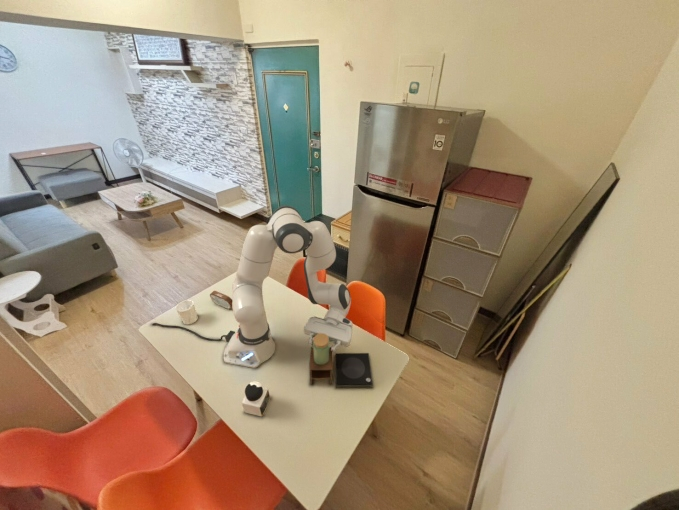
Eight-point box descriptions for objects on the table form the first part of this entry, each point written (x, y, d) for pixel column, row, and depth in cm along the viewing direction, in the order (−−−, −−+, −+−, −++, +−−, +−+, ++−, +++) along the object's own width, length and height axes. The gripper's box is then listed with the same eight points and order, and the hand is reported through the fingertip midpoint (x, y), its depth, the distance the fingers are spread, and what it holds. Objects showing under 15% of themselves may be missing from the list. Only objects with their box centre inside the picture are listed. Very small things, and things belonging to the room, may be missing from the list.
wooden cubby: (310, 384, 108) (309, 369, 102) (311, 362, 117) (311, 347, 111) (332, 384, 109) (332, 368, 103) (332, 362, 117) (332, 347, 111)
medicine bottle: (262, 417, 98) (257, 400, 91) (244, 412, 99) (238, 395, 92) (270, 398, 103) (266, 380, 97) (253, 394, 104) (248, 376, 98)
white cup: (202, 318, 136) (197, 303, 130) (187, 327, 130) (181, 313, 125) (193, 311, 139) (187, 297, 134) (178, 321, 134) (172, 306, 128)
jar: (313, 364, 104) (312, 346, 97) (313, 350, 109) (313, 332, 103) (329, 364, 104) (329, 346, 98) (329, 350, 109) (329, 332, 103)
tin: (236, 308, 142) (233, 296, 137) (231, 312, 140) (228, 300, 135) (215, 299, 147) (212, 288, 142) (211, 303, 145) (207, 291, 140)
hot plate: (335, 388, 108) (335, 384, 106) (335, 355, 120) (335, 351, 118) (372, 387, 108) (373, 383, 106) (368, 355, 121) (368, 351, 119)
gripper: (311, 310, 115) (296, 334, 104) (356, 323, 110) (346, 349, 99) (311, 320, 119) (297, 344, 108) (355, 333, 114) (345, 359, 103)
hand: (321, 347), depth 103 cm, fingers open, 8 cm apart
